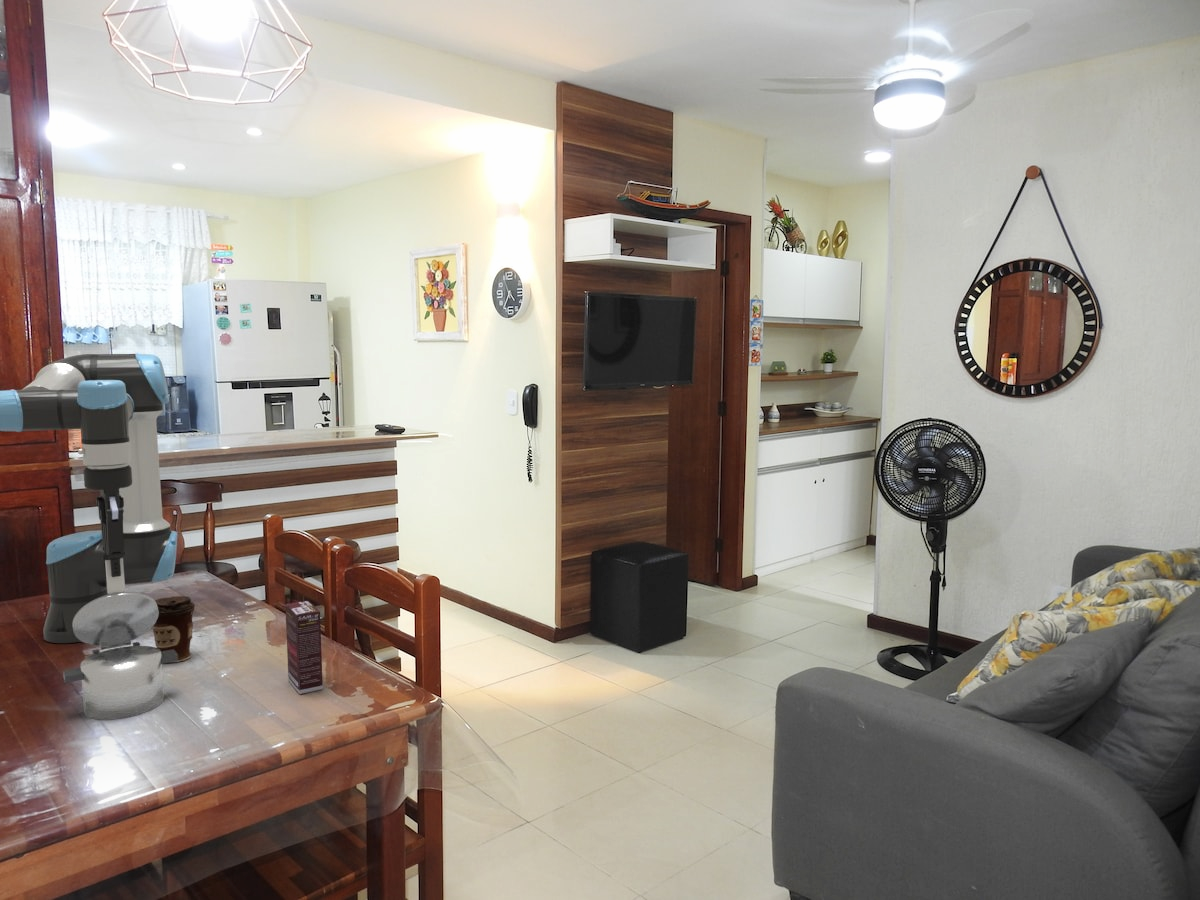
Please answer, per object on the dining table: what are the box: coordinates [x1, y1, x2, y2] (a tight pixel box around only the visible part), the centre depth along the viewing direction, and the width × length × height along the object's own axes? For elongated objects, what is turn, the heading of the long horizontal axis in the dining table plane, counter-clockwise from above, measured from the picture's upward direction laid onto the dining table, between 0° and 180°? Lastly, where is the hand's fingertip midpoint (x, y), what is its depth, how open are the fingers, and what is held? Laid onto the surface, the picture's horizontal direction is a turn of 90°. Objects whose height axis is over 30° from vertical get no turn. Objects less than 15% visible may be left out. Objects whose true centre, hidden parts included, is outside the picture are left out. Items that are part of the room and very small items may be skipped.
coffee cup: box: [152, 595, 195, 664], centre depth 179 cm, size 9×8×13 cm
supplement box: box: [285, 600, 324, 695], centre depth 165 cm, size 9×5×16 cm, turn 34°
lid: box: [73, 591, 159, 651], centre depth 158 cm, size 15×14×4 cm
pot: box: [62, 641, 178, 721], centre depth 157 cm, size 14×18×9 cm
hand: (116, 592), depth 154 cm, fingers closed
